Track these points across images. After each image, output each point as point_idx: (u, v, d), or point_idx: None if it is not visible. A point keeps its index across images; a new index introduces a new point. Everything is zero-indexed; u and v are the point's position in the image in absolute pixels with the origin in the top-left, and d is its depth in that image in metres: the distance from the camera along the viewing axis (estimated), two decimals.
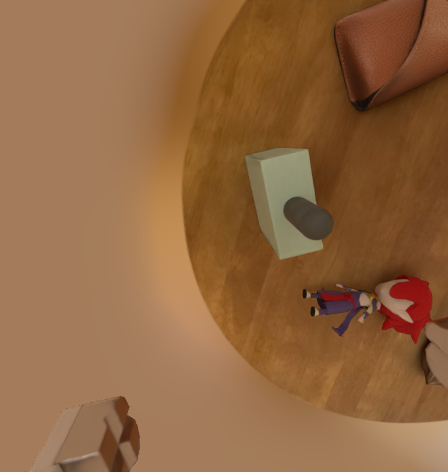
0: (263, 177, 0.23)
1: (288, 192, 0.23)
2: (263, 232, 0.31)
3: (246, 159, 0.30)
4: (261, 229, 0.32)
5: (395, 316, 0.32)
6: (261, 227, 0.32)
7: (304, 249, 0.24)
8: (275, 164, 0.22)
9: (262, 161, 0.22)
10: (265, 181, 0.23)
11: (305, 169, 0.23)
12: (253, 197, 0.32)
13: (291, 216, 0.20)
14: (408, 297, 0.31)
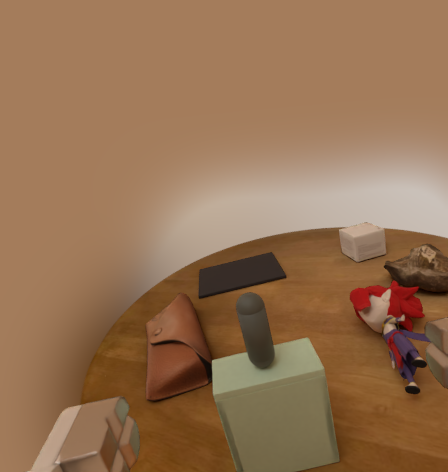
0: (230, 392, 0.21)
1: (247, 369, 0.23)
2: (332, 441, 0.23)
3: None
4: (334, 452, 0.24)
5: (393, 303, 0.33)
6: (329, 450, 0.24)
7: (308, 350, 0.23)
8: (219, 381, 0.22)
9: (213, 393, 0.21)
10: (234, 388, 0.21)
11: (229, 359, 0.24)
12: None
13: (254, 338, 0.21)
14: (365, 297, 0.34)
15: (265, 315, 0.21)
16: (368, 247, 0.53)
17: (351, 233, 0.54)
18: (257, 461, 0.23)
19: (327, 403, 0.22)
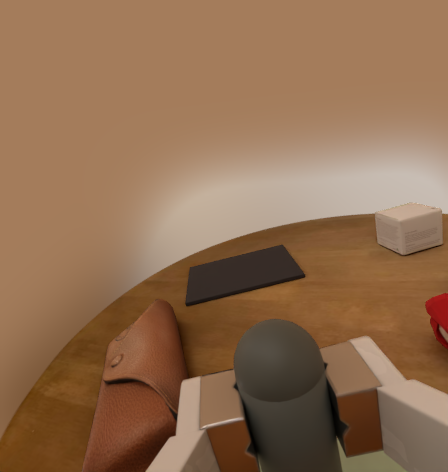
0: None
1: None
2: None
3: None
4: None
5: None
6: None
7: None
8: None
9: None
10: None
11: None
12: None
13: (291, 469, 0.07)
14: None
15: (327, 394, 0.07)
16: (420, 234, 0.38)
17: (394, 216, 0.39)
18: None
19: None
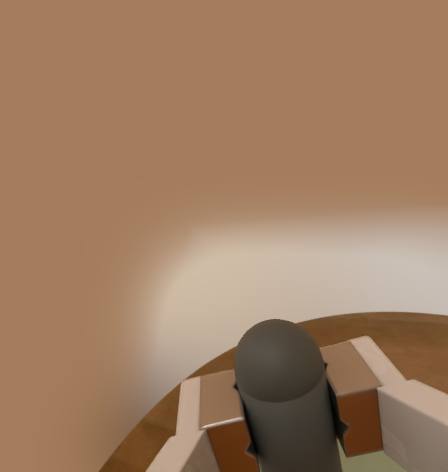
0: None
1: None
2: None
3: None
4: None
5: None
6: None
7: None
8: None
9: None
10: None
11: None
12: None
13: (292, 469, 0.07)
14: None
15: (327, 394, 0.07)
16: None
17: None
18: None
19: None
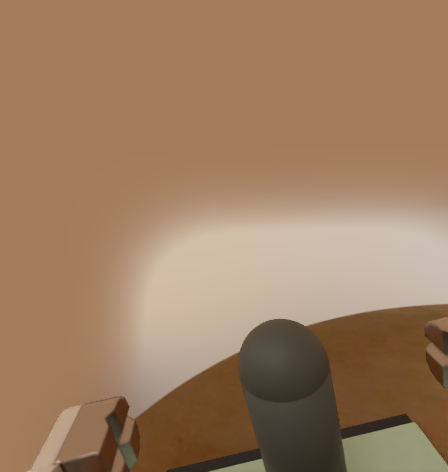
0: None
1: None
2: None
3: None
4: None
5: None
6: None
7: (435, 471, 0.09)
8: None
9: None
10: None
11: None
12: None
13: (297, 470, 0.06)
14: None
15: (332, 394, 0.07)
16: None
17: None
18: None
19: None
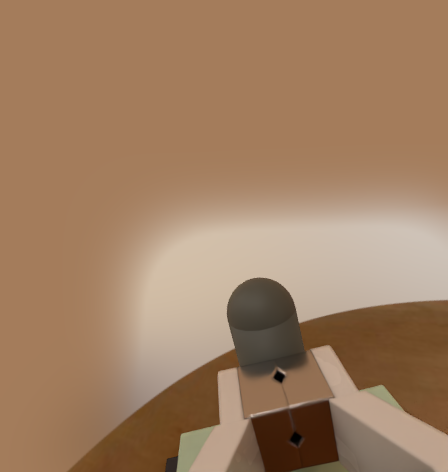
0: None
1: None
2: None
3: None
4: None
5: None
6: None
7: None
8: None
9: None
10: None
11: None
12: None
13: None
14: None
15: (298, 333, 0.09)
16: None
17: None
18: None
19: None
